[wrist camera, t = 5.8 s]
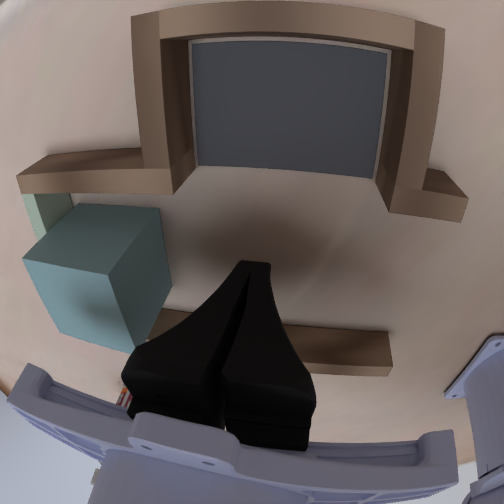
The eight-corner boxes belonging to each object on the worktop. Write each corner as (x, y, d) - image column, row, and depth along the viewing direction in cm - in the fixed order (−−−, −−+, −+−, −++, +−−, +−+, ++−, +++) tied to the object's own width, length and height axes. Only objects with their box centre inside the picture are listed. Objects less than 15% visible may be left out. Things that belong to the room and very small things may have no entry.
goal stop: (63, 171, 14) (33, 193, 12) (104, 298, 19) (87, 325, 17) (51, 172, 14) (21, 194, 12) (93, 295, 19) (75, 321, 17)
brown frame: (463, 46, 8) (496, 49, 6) (382, 342, 17) (387, 376, 15) (32, 58, 10) (-5, 68, 8) (97, 305, 20) (81, 332, 18)
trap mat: (386, 53, 9) (387, 53, 9) (371, 177, 12) (372, 178, 12) (192, 44, 10) (192, 44, 10) (199, 164, 13) (198, 165, 13)
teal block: (159, 207, 14) (107, 275, 10) (172, 285, 17) (138, 356, 13) (79, 202, 15) (21, 258, 11) (100, 273, 18) (60, 332, 14)
